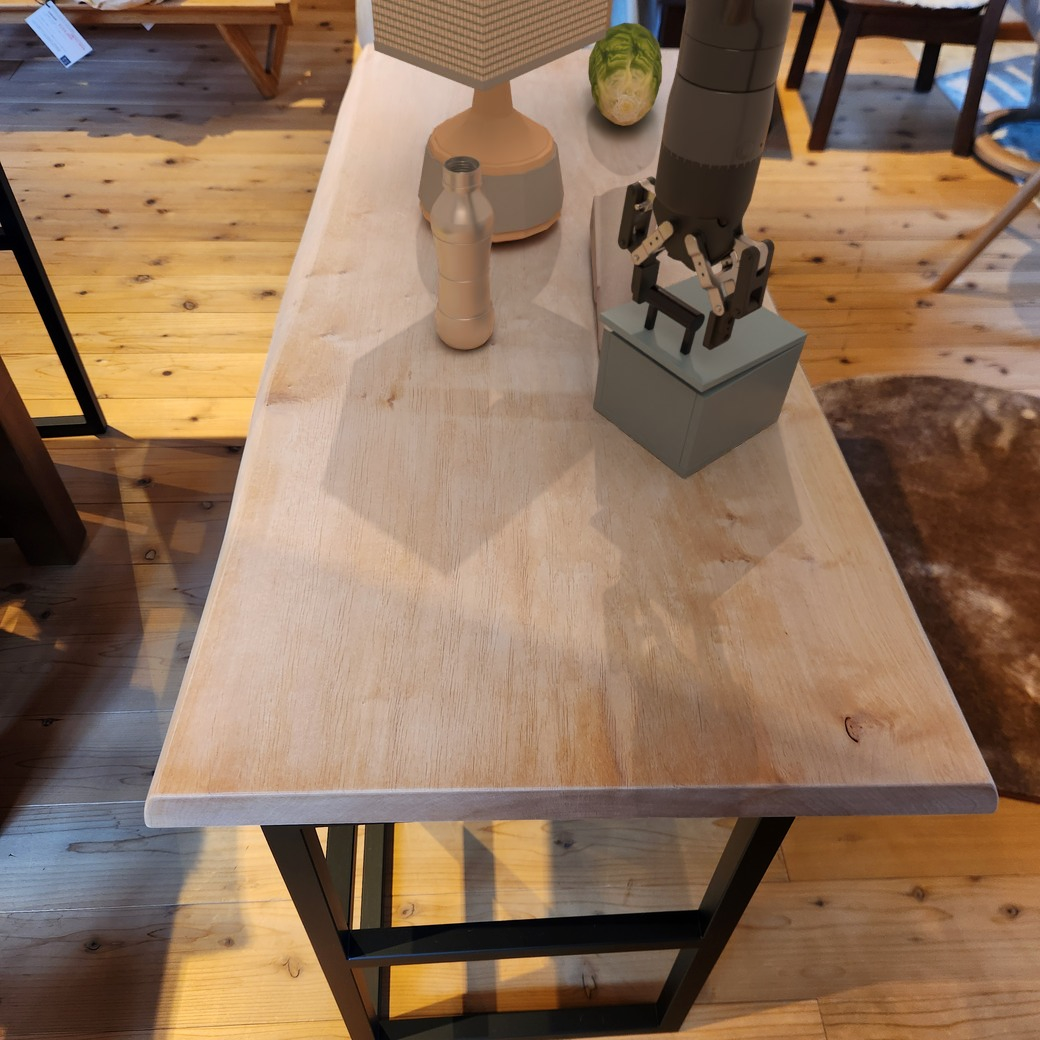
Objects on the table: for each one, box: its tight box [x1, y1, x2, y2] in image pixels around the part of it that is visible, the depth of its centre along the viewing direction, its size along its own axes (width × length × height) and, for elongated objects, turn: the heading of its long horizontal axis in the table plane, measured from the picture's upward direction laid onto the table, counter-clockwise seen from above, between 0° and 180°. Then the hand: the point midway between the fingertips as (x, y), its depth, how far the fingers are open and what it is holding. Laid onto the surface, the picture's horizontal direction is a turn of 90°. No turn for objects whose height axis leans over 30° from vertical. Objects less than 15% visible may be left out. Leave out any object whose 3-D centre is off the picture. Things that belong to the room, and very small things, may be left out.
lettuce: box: [587, 22, 663, 127], centre depth 131 cm, size 12×21×11 cm, turn 176°
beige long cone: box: [589, 185, 657, 353], centre depth 100 cm, size 8×9×26 cm
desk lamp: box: [370, 0, 609, 243], centre depth 99 cm, size 22×19×37 cm
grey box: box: [592, 326, 806, 480], centre depth 84 cm, size 14×13×10 cm
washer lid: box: [599, 274, 809, 392], centre depth 78 cm, size 15×13×5 cm
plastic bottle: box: [429, 156, 496, 350], centre depth 87 cm, size 6×7×20 cm
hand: (676, 321), depth 75 cm, fingers open, 8 cm apart
